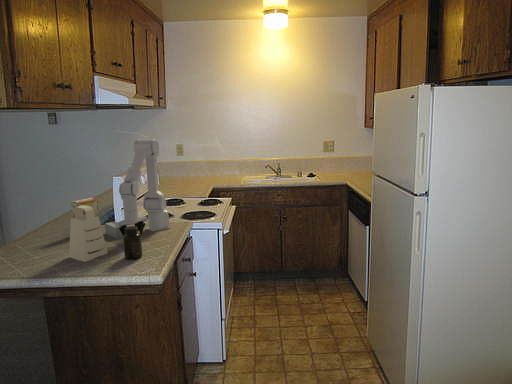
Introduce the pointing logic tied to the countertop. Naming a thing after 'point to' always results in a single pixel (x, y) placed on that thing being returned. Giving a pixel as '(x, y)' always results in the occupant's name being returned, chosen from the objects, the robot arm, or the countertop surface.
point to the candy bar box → (86, 202)
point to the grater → (86, 235)
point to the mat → (120, 240)
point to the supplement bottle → (132, 243)
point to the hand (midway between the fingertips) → (133, 240)
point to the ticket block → (113, 230)
